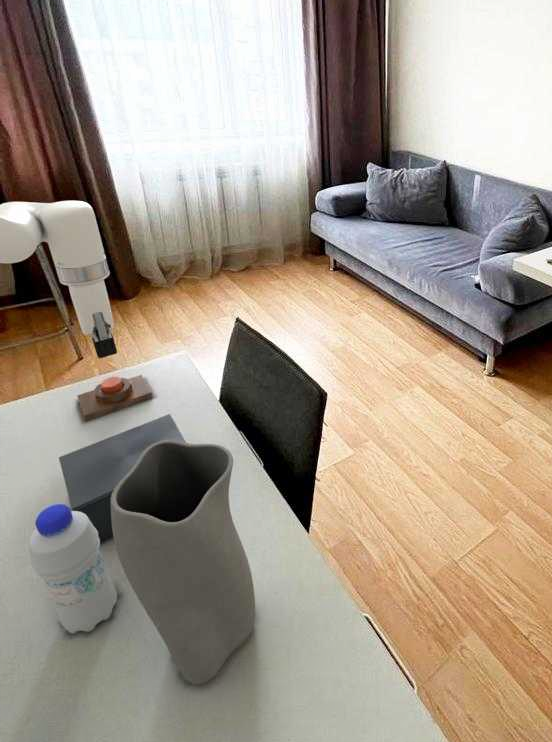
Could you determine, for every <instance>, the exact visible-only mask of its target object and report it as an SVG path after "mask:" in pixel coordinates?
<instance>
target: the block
mask: <svg viewBox="0 0 552 742" xmlns="http://www.w3.org/2000/svg"><path fill="white" fill-rule="evenodd" d="M120 378H121V380H122V384H123V388H122V389H120V390H119V391H116V392H113V393H104V392H103V390H102V387H101V383H99V384H97V385H96V387H95V388H94V389H93V390H90V391H86V392H83V393H81V394H77V395H76V396H77V399H78V403H79V406H80V408H81V412H82V415H83V418H84V420H85V422H88V421H90V420H94V419H97V418H100V417H102V416H105V415H108V414H110V413H111V414H112V413H113V412H117V411H120V410H122V409H125V408H128V407H131V406H133V405H136V404H139V403H142V402H145V401H148V400H151V399H153V394H152V391H151V389H150V387H149V385H148V383H147V382H146V380H145V378H144V376H143V375H142V374H140V375H136V376H133V377H130V378H125V377H120Z"/></svg>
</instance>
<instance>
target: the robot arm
mask: <svg viewBox="0 0 552 742" xmlns="http://www.w3.org/2000/svg"><path fill="white" fill-rule="evenodd" d="M96 218H97V217H96V214H95V212H94V209H93V207H92V206H91V205H90V204H89V203H88V202H85V201H82V200H60V201H55V202H32V201H31V202H29V201H8V202H3V203H1V204H0V264H15V263H20V262H22V261H25V260H26V259H28V258H29V257H31V256H32V255H33V254H34V253H35V251H36V249H37V247H38V246H39V244H40V243H43V242H45V243H47V245H48V248H49V251H50V254H51V257H52V261H53V264H54V267H55V270H56V274H57V277H58V280H59V283H60V284H61V285H64V286H68V290H69V294H70V299H71V302H72V304H73V305H72V306H73V308H74V311H75V314H76V317H77V320H78V323H79V327H80V329H81V332H82V334H83V335H85V336H89V335H91V336H92V337H91V340H92V343H93V346H94V351H95V353H96V356H97V358H98V359H103V358H106V357H111V356H114V355H116V354H117V353H118V350H117V346H116V342H115V339H114V335H113V333H112V332H111V330H113V329H114V327H115V322H114V318H113V312H112V308H111V307H112V306H111V303H110V299H109V295H108V291H107V287H106V283H105V280H106V279H107V278H108V277H109V276H110V274H111V272H110V269H109V264H108V260H107V257H106V254H105V249H104V246H103V242H102V237H101V234H100V231H99V226H98V222H97V219H96Z"/></svg>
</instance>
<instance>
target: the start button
mask: <svg viewBox="0 0 552 742" xmlns="http://www.w3.org/2000/svg"><path fill="white" fill-rule="evenodd" d="M121 378H122V377H120V376H111V377H107V378H105V379H104V380H102V381H101V383H100V384H101V387H102V390H103V392H104V393H113V392H116V391H119V390H120V389H122V388H123V384H122V380H121Z"/></svg>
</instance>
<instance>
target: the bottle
mask: <svg viewBox="0 0 552 742" xmlns="http://www.w3.org/2000/svg"><path fill="white" fill-rule="evenodd" d="M70 508H71V507H69V506H68V505H66V504H64V503H57V504H51V505H49V506H47V507H46V508H44V509H43V510H42V511H41V512H40V513H39V514H38V515H37V517H36V518H35V527H36V528H35V530H34V531H33V532H32V533H31V535H30V538H29V541H28V549H29V554H30V560H31V567H32V568H33V569H34V570H35V573H36V575H37V576H38V577H39V578H40V579H43V581H44V583H45V586H46V588H47V591H48V592H49V595H50V597H51V600H52V601H53V603H54V604H53V605H54V608H55V610H56V611H55V612H56V614H57V616H58V617H57V618H58V620H59V622H60V624H61V626H62V627H63V628H64V629H65V630H66V631H67V632H69V633H70V634H76V633H78V632H81V631H82V632H86V633H89V632H91V631H93V630H95V628H96V626H97V625H98V624H99V623H100V622H102V621H107V620H108V619H109V618H110V617H111V615H112V611H113V608H114V606H115V605H116V604H117V601H118V594H117V588H116V586H115V584H114V581H113V579H112V578H111V576H110V573H109V572H108V569H107V566H106V564H105V561H104V558H103V556H102V552H101V550H100V545H101V543H100V539H99V537H98V532H97V530H96V529H95V527H94V526H93V524H92V523H91V521H90V520H89V518H88V517H87V515H86V514H84V513H82V512H79V511H72V509H70Z"/></svg>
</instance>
